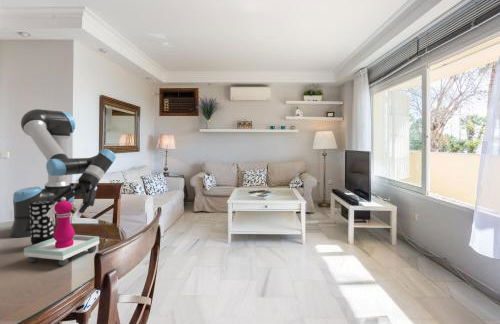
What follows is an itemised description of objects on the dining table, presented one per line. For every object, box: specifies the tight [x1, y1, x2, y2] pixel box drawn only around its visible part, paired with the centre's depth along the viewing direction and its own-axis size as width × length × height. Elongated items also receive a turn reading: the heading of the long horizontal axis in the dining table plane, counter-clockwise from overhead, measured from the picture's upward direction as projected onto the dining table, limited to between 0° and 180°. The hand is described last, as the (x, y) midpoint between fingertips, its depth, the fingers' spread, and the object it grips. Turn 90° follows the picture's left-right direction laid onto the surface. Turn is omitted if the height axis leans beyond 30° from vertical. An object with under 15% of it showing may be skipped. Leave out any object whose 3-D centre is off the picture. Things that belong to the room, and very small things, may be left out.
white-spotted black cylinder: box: [30, 201, 55, 246], centre depth 124 cm, size 8×8×20 cm
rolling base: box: [23, 234, 100, 267], centre depth 112 cm, size 18×18×6 cm
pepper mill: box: [53, 197, 76, 248], centre depth 112 cm, size 7×7×20 cm
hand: (60, 218), depth 111 cm, fingers open, 13 cm apart
